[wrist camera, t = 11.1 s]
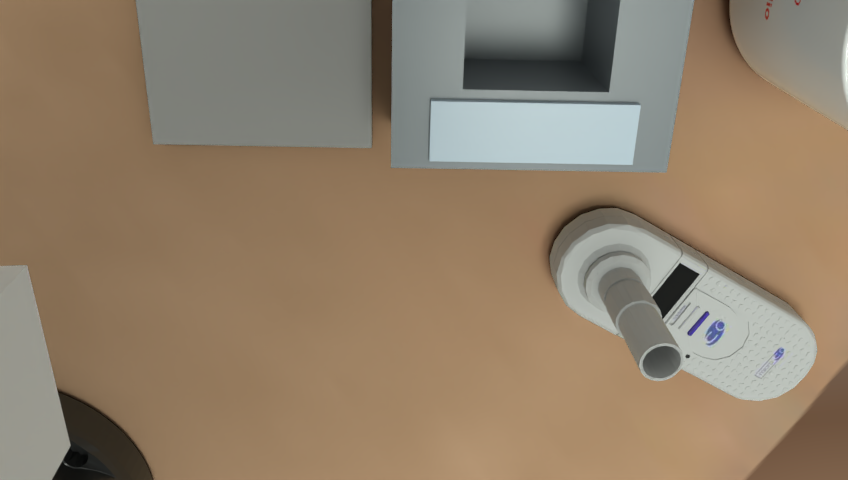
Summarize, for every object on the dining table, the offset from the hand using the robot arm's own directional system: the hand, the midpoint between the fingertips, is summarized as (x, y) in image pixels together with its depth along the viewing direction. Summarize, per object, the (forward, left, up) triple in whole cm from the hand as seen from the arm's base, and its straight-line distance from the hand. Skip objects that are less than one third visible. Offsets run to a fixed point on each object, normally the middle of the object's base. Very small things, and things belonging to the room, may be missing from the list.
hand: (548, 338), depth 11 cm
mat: (-8, -1, -27) cm, 28 cm away
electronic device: (+12, -14, -28) cm, 33 cm away
